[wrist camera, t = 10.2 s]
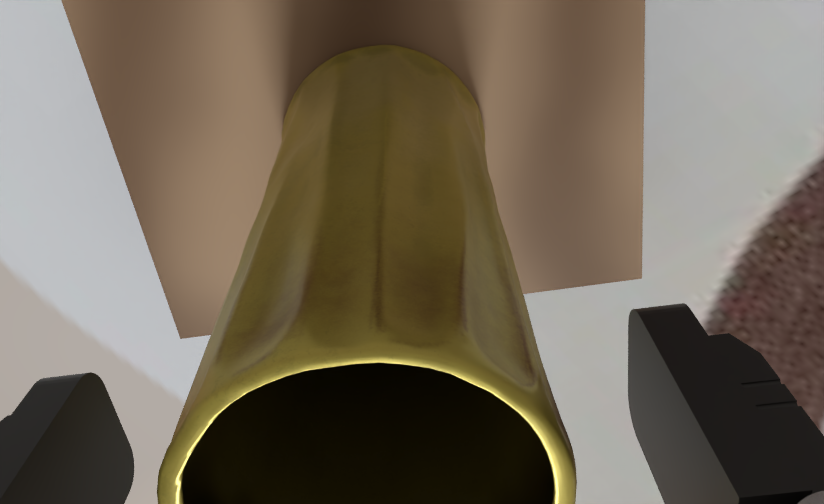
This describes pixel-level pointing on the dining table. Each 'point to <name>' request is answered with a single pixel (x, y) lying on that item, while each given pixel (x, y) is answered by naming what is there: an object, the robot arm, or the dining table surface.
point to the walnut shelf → (343, 31)
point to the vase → (374, 316)
